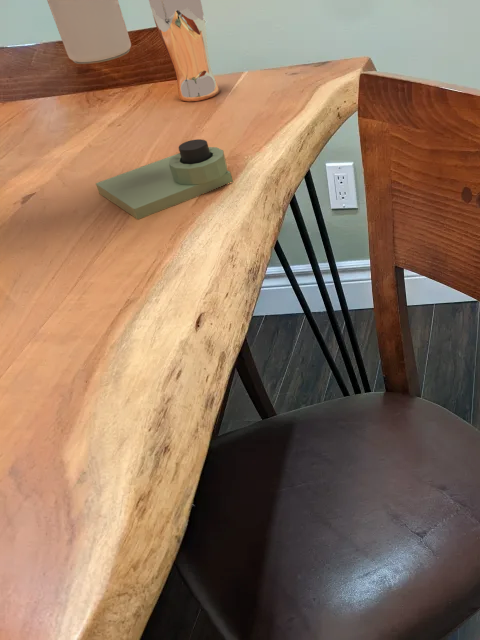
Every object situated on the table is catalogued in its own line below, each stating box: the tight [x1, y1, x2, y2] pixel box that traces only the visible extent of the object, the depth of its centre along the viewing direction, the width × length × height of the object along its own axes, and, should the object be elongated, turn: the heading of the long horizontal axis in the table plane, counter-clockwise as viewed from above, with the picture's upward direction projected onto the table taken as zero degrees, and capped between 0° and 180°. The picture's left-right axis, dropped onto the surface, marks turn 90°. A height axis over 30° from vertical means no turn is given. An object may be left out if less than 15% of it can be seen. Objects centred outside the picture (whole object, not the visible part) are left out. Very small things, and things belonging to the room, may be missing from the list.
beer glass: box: [148, 0, 220, 103], centre depth 99 cm, size 7×7×15 cm
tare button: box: [178, 138, 211, 164], centre depth 77 cm, size 3×3×2 cm
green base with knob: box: [95, 146, 234, 220], centre depth 79 cm, size 13×12×3 cm
